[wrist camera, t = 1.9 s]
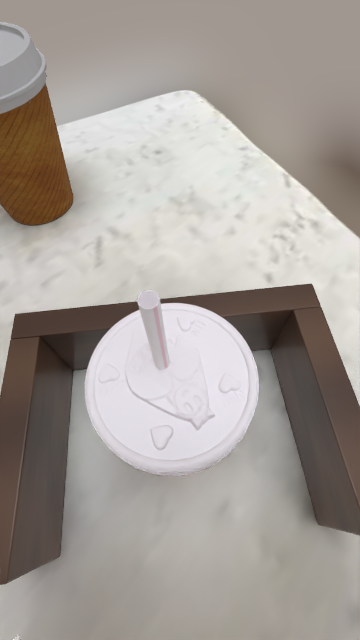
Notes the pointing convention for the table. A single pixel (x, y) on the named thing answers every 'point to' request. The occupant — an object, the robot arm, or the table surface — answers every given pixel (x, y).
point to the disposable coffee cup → (28, 135)
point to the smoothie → (171, 387)
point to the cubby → (75, 353)
